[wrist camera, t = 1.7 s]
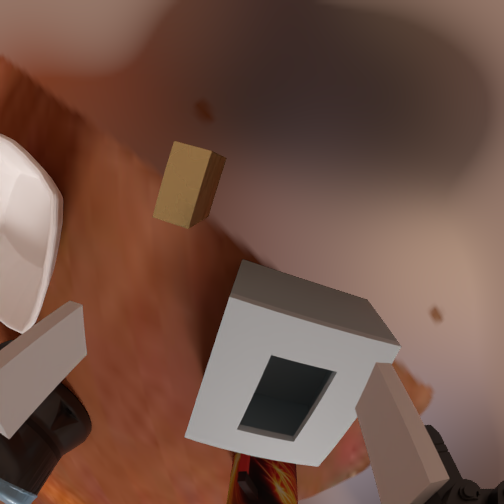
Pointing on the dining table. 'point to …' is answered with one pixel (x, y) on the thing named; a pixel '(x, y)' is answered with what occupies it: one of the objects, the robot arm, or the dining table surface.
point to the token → (188, 185)
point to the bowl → (26, 234)
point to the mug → (262, 481)
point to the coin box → (287, 367)
